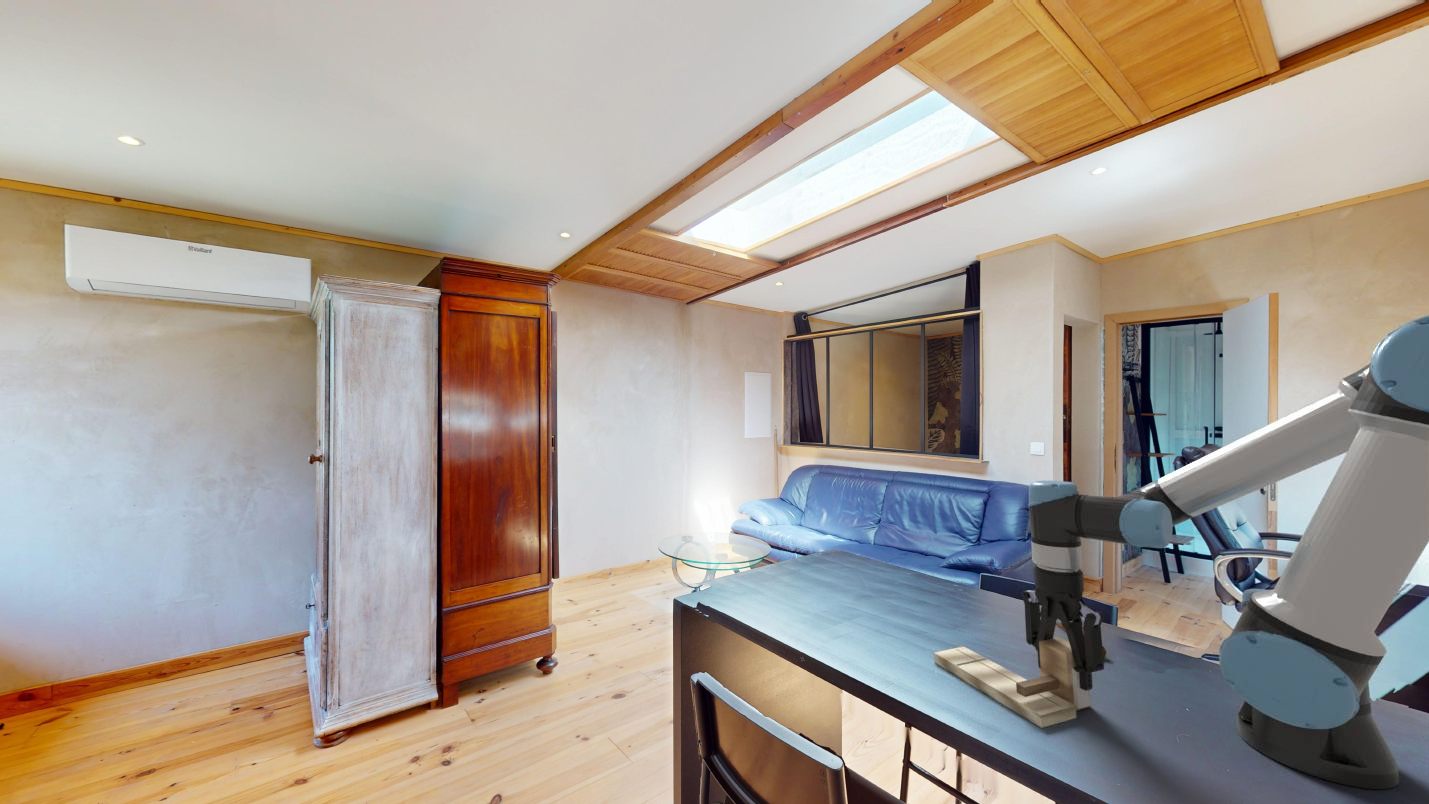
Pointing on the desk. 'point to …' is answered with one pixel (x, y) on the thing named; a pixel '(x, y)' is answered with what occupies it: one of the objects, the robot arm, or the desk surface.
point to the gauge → (1052, 671)
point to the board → (1005, 687)
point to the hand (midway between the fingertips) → (1065, 697)
